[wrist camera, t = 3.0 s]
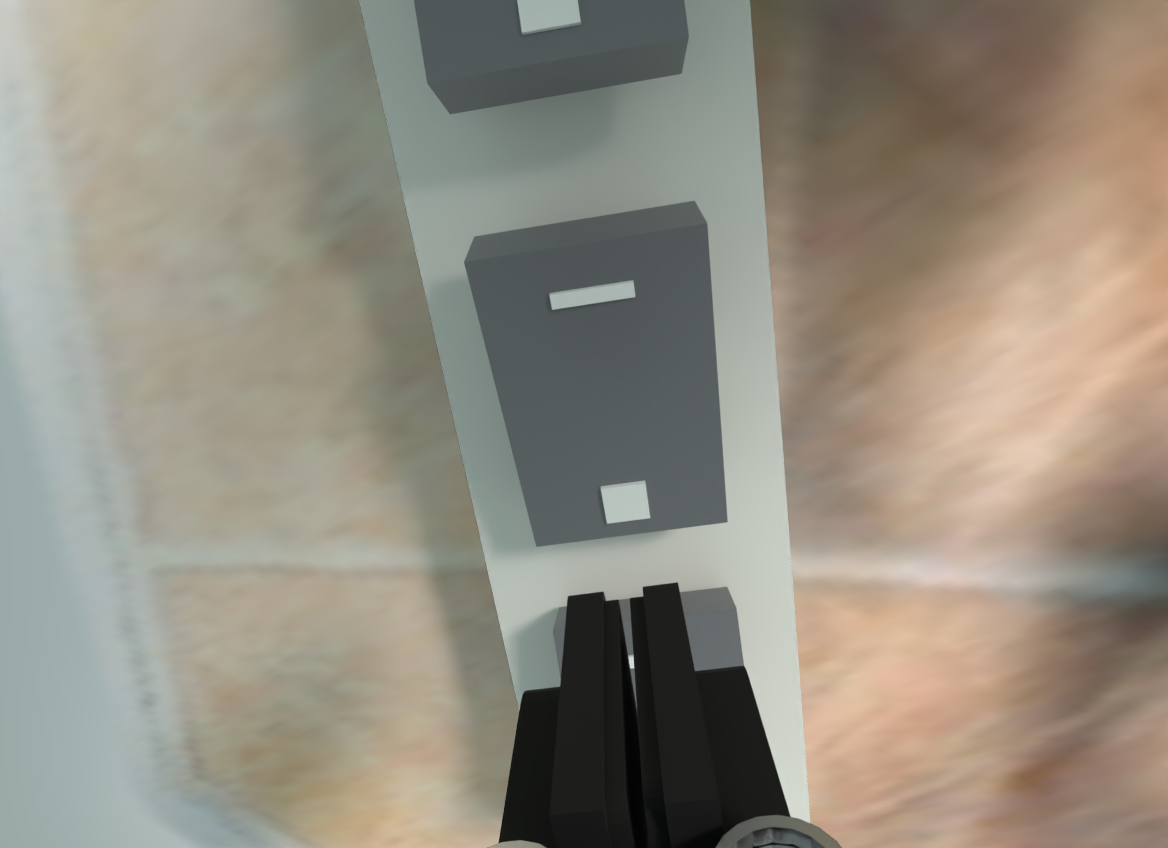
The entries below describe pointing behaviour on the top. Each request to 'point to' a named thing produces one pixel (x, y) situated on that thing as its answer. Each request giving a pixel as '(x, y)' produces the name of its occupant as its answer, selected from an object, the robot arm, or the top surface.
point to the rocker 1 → (545, 47)
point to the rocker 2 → (606, 370)
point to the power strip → (741, 321)
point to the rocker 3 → (706, 627)
